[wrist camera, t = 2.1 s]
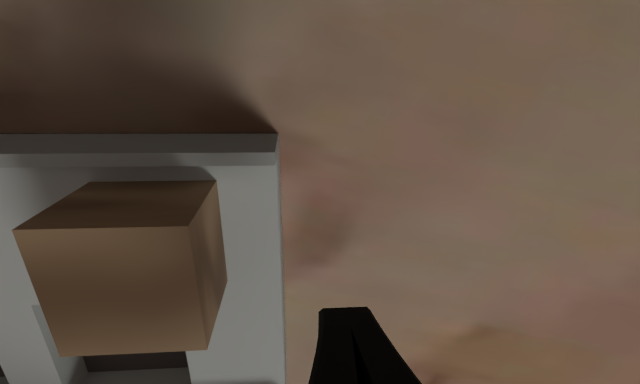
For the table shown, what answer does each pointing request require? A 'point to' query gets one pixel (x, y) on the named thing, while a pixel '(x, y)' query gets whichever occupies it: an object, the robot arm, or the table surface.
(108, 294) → the block
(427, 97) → the table surface
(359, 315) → the robot arm
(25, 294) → the tray
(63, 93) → the table surface
